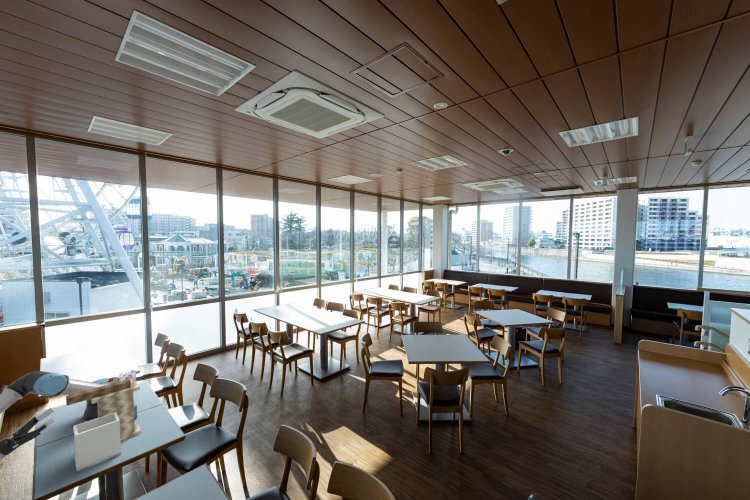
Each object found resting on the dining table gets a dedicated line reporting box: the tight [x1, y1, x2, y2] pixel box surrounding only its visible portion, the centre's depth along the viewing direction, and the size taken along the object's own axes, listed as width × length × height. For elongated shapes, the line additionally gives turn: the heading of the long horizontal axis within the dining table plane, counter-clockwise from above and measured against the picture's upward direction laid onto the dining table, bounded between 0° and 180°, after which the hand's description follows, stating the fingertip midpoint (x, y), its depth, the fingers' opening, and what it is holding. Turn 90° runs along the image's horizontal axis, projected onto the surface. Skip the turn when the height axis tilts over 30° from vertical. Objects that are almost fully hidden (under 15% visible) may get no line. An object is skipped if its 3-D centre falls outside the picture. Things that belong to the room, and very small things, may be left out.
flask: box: [134, 403, 138, 422], centre depth 205 cm, size 9×3×11 cm, turn 8°
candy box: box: [112, 369, 137, 383], centre depth 239 cm, size 14×6×16 cm, turn 168°
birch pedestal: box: [91, 381, 142, 442], centre depth 186 cm, size 22×10×30 cm, turn 138°
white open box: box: [72, 412, 122, 473], centre depth 170 cm, size 18×12×20 cm, turn 138°
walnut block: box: [65, 379, 131, 407], centre depth 181 cm, size 28×4×4 cm, turn 138°
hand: (53, 414), depth 167 cm, fingers open, 13 cm apart
